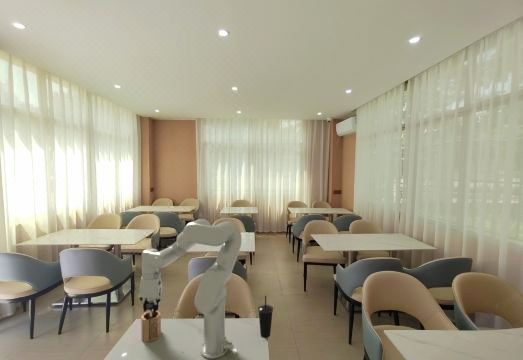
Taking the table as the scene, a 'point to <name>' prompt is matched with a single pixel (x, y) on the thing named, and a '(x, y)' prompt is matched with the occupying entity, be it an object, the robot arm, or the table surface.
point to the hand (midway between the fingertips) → (150, 310)
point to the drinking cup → (265, 319)
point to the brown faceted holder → (150, 326)
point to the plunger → (150, 306)
